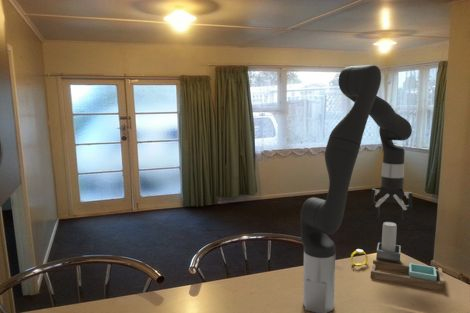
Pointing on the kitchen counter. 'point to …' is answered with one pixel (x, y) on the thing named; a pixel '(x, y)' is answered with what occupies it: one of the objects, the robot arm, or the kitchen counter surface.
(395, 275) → the bay
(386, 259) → the open metal box
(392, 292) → the kitchen counter surface
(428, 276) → the box
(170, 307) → the kitchen counter surface
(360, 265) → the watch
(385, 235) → the beverage can
